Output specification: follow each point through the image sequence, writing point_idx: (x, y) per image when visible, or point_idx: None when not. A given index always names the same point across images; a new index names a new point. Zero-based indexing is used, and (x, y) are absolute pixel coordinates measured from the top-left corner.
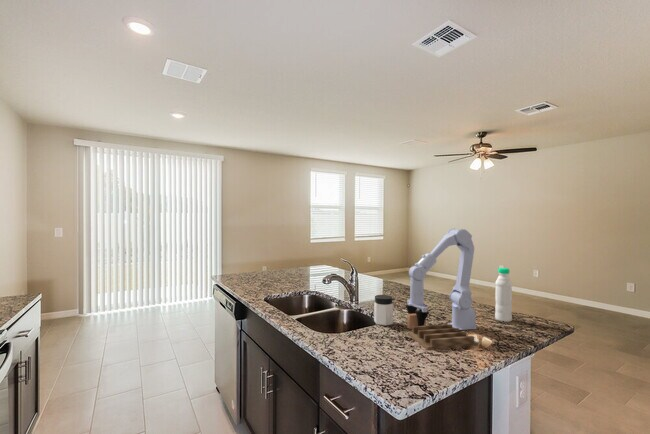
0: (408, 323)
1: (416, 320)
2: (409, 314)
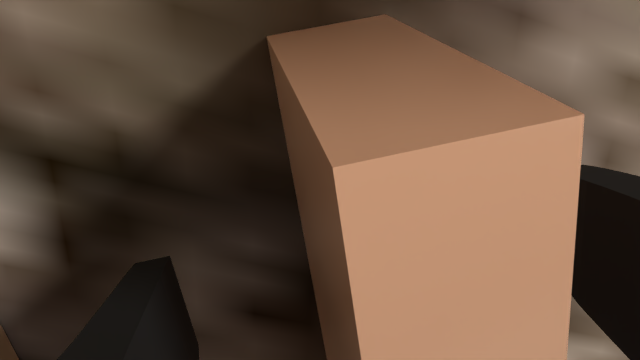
0: (339, 50)
1: (328, 308)
2: (488, 205)
